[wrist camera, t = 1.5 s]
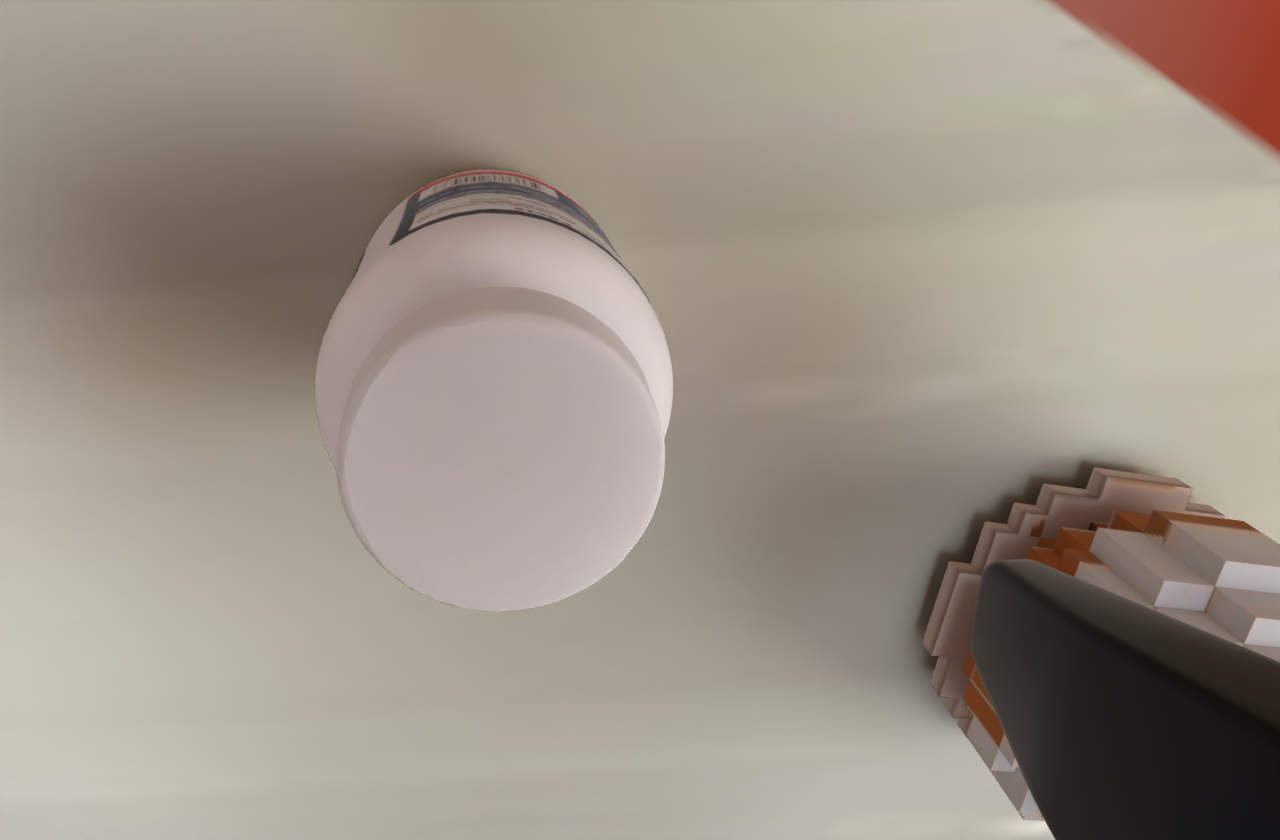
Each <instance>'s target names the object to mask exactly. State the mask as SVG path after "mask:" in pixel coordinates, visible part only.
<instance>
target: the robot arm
mask: <svg viewBox="0 0 1280 840" xmlns="http://www.w3.org/2000/svg"><path fill="white" fill-rule="evenodd" d="M970 645H971V653H972V657H973V660H974V663H975V666H976V668H977V670H978V673H979V675H980V677H981V680H982V682H983V684H984V687H985V689H986V691H987V694H988V696H989V698H990V701H991V703H992V705H993V708H994V710H995V712H996V715H997V717H998V719H999V722H1000V724H1001V726H1002V729H1003V731H1004V733H1005V736H1006V738H1007V740H1008V743H1009V745H1010V747H1011V750H1012V752H1013V754H1014V757H1015V759H1016V761H1017V763H1018V766H1019V768H1020V770H1021V773H1022V775H1023V777H1024V780H1025V782H1026V784H1027V786H1028V788H1029V790H1030V792H1031V794H1032V797H1033V799H1034V801H1035V803H1036V805H1037V806H1038V808H1039V810H1040V812H1041V814H1042V816H1043V818H1044V820H1045V821H1046V823H1047V825H1048V827H1049V829H1050V831H1051V832H1052V834H1053V836H1054V838H1055V839H1056V840H1280V662H1279V661H1276V660H1274V659H1271V658H1269V657H1267V656H1264V655H1262V654H1259V653H1257V652H1254V651H1252V650H1250V649H1247V648H1245V647H1242V646H1240V645H1238V644H1235V643H1233V642H1230V641H1228V640H1225V639H1223V638H1221V637H1218V636H1216V635H1213V634H1211V633H1209V632H1206V631H1204V630H1201V629H1199V628H1196V627H1194V626H1192V625H1189V624H1187V623H1184V622H1182V621H1180V620H1177V619H1175V618H1172V617H1170V616H1168V615H1165V614H1163V613H1160V612H1158V611H1155V610H1153V609H1151V608H1148V607H1146V606H1143V605H1141V604H1139V603H1136V602H1134V601H1131V600H1129V599H1126V598H1124V597H1122V596H1119V595H1117V594H1114V593H1112V592H1110V591H1107V590H1105V589H1102V588H1100V587H1097V586H1095V585H1093V584H1090V583H1088V582H1085V581H1083V580H1081V579H1078V578H1076V577H1073V576H1071V575H1069V574H1066V573H1064V572H1061V571H1059V570H1056V569H1054V568H1052V567H1049V566H1047V565H1044V564H1042V563H1040V562H1037V561H1034V560H1029V559H1019V560H1001V561H993V562H991V563H990V564H989V565H987V566H986V567H985V569H984V571H983V573H982V577H981V581H980V586H979V592H978V597H977V603H976V608H975V614H974V619H973V624H972V630H971V637H970Z"/></svg>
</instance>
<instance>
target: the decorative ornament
mask: <svg viewBox="0 0 1280 840" xmlns="http://www.w3.org/2000/svg"><path fill="white" fill-rule="evenodd" d="M1192 490H1193V489H1192V488H1191V487H1189V486H1188V485H1186V484H1184V483H1183V482H1181V481H1180V480H1178V479H1174V478H1167V477H1160V476H1152V475H1145V474H1138V473H1131V472H1123V471H1116V470H1109V469H1102V468H1095V467H1094V469H1093V472H1092V474H1091V477H1090V480H1089V482H1088V485H1087V488H1086V489H1080V488H1073V487H1065V486H1058V485H1050V484H1043V486H1042V489H1041V491H1040V494H1039V497H1038V500H1037V503H1036V505H1029V504H1022V503H1014V504H1013V507H1012V510H1011V513H1010V516H1009V519H1008V521H1007V524H1002V523H994V522H986V521H985V523H984V526H983V529H982V532H981V535H980V538H979V541H978V543H977V546H976V549H975V552H974V555H973V558H972V561H971V564H969V563H960V562H951V561H949V563H948V566H947V569H946V572H945V575H944V578H943V581H942V584H941V587H940V590H939V593H938V596H937V599H936V602H935V605H934V608H933V611H932V614H931V617H930V620H929V623H928V626H927V629H926V632H925V635H924V638H923V641H922V643H923V645H924V646H925V647H926V649H927V650H928V651H929V653H930V654H931V656H939V658H938V661H937V664H936V667H935V670H934V673H933V676H932V678H931V681H930V684H931V685H932V687H933V688H934V690H935V691H936V693H937V694H938V696H939V697H946V699H945V702H944V705H945V706H946V707H947V709H948V710H949V712H950V713H951V715H952V716H953V718H959V721H958V725H959V727H960V728H961V730H962V731H963V732H964V734H965V735H966V737H967V738H968V739H969V740H970V742H971V743H972V745H973V746H974V748H975V749H976V750H977V752H978V753H979V755H980V756H981V758H982V759H983V761H984V762H985V764H986V765H987V767H988V768H989V770H990V771H991V773H992V774H993V775H994V777H995V778H996V780H997V782H998V783H999V784H1000V786H1001V788H1002V789H1003V791H1004V792H1005V793H1006V795H1007V796H1008V798H1009V799H1010V801H1011V802H1012V804H1013V805H1014V806H1015V808H1016V809H1017V811H1018V812H1019V814H1020V815H1021V817H1022V818H1023V820H1041V821H1045V820H1044V818H1043V816H1042V814H1041V812H1040V810H1039V808H1038V806H1037V805H1036V803H1035V801H1034V799H1033V797H1032V794H1031V792H1030V790H1029V788H1028V786H1027V784H1026V782H1025V780H1024V777H1023V775H1022V773H1021V770H1020V768H1019V766H1018V763H1017V761H1016V759H1015V757H1014V754H1013V752H1012V750H1011V747H1010V745H1009V743H1008V740H1007V738H1006V736H1005V733H1004V731H1003V729H1002V726H1001V724H1000V722H999V719H998V717H997V715H996V712H995V710H994V708H993V705H992V703H991V701H990V698H989V696H988V694H987V691H986V689H985V687H984V684H983V682H982V680H981V677H980V675H979V673H978V670H977V668H976V666H975V663H974V660H973V657H972V653H971V645H970V637H971V630H972V624H973V619H974V614H975V608H976V603H977V597H978V592H979V586H980V581H981V577H982V573H983V571H984V569H985V567H986V566H987V565H989V564H990V563H991V562H993V561H1001V560H1019V559H1029V560H1034V561H1037V562H1040V563H1042V564H1044V565H1047V566H1049V567H1052V568H1054V569H1056V570H1059V571H1061V572H1064V573H1066V574H1069V575H1071V576H1073V577H1076V578H1078V579H1081V580H1083V581H1085V582H1088V583H1090V584H1093V585H1095V586H1097V587H1100V588H1102V589H1105V590H1107V591H1110V592H1112V593H1114V594H1117V595H1119V596H1122V597H1124V598H1126V599H1129V600H1131V601H1134V602H1136V603H1139V604H1141V605H1143V606H1146V607H1148V608H1151V609H1153V610H1155V611H1158V612H1160V613H1163V614H1165V615H1168V616H1170V617H1172V618H1175V619H1177V620H1180V621H1182V622H1184V623H1187V624H1189V625H1192V626H1194V627H1196V628H1199V629H1201V630H1204V631H1206V632H1209V633H1211V634H1213V635H1216V636H1218V637H1221V638H1223V639H1225V640H1228V641H1230V642H1233V643H1235V644H1238V645H1240V646H1242V647H1245V648H1247V649H1250V650H1252V651H1254V652H1257V653H1259V654H1262V655H1264V656H1267V657H1269V658H1271V659H1274V660H1276V661H1279V662H1280V544H1278V543H1277V542H1275V541H1274V540H1272V539H1270V538H1269V537H1267V536H1266V535H1264V534H1263V533H1261V532H1259V531H1258V530H1256V529H1255V528H1253V527H1252V526H1250V525H1249V524H1247V523H1245V522H1244V521H1237V520H1229V519H1224V517H1225V516H1224V515H1223V514H1221V513H1220V512H1218V511H1217V510H1215V509H1213V508H1212V507H1210V506H1208V505H1200V504H1193V503H1187V502H1188V499H1189V497H1190V495H1191V492H1192Z"/></svg>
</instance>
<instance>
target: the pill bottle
mask: <svg viewBox="0 0 1280 840" xmlns="http://www.w3.org/2000/svg"><path fill="white" fill-rule="evenodd" d="M672 401H673V374H672V366H671V358H670V353H669V349H668V345H667V341H666V338H665V335H664V332H663V330H662V327H661V325H660V322H659V320H658V318H657V315H656V313H655V311H654V309H653V307H652V305H651V303H650V301H649V299H648V297H647V296H646V294H645V293H644V291H643V290H642V288H641V287H640V285H639V283H638V282H637V281H636V279H635V278H634V277H633V276H632V274H631V273H630V271H629V270H628V269H627V267H626V265H625V264H624V262H623V261H622V260H621V258H620V257H619V255H618V254H617V252H616V251H615V249H614V248H613V247H612V245H611V243H610V242H609V240H608V238H607V237H606V235H605V234H604V232H603V231H602V230H601V228H600V227H599V226H598V224H597V223H596V222H595V221H594V220H593V218H592V217H591V216H590V215H589V214H588V213H587V212H586V211H585V210H584V209H583V208H582V207H581V206H580V205H579V204H578V203H577V202H576V201H575V200H573V199H572V198H571V197H569V196H568V195H567V194H565V193H564V192H562V191H561V190H559V189H558V188H556V187H554V186H552V185H550V184H548V183H546V182H543V181H541V180H539V179H536V178H534V177H531V176H528V175H524V174H520V173H516V172H510V171H503V170H473V171H466V172H461V173H456V174H453V175H449V176H446V177H443V178H441V179H438V180H436V181H434V182H432V183H430V184H428V185H425V186H424V187H422V188H420V189H419V190H417V191H415V192H414V193H412V194H411V195H410V196H408V197H407V198H406V199H405V200H403V201H402V202H401V203H400V204H399V205H398V206H397V207H396V208H395V209H394V210H392V211H391V212H390V213H389V214H388V216H387V217H386V218H385V220H384V221H383V222H382V224H381V225H380V226H379V228H378V229H377V231H376V232H375V234H374V235H373V237H372V238H371V240H370V242H369V244H368V246H367V248H366V250H365V252H364V253H363V255H362V257H361V259H360V262H359V265H358V267H357V269H356V272H355V274H354V276H353V279H352V281H351V283H350V285H349V287H348V289H347V290H346V292H345V293H344V295H343V297H342V299H341V301H340V302H339V303H338V305H337V306H336V308H335V310H334V312H333V314H332V316H331V318H330V321H329V323H328V326H327V328H326V331H325V334H324V337H323V340H322V343H321V347H320V351H319V356H318V360H317V366H316V376H315V403H316V412H317V418H318V423H319V428H320V432H321V435H322V438H323V441H324V445H325V447H326V449H327V452H328V454H329V456H330V459H331V461H332V463H333V465H334V467H335V469H336V471H337V480H338V486H339V492H340V496H341V500H342V504H343V507H344V509H345V512H346V514H347V516H348V519H349V521H350V523H351V525H352V527H353V529H354V531H355V533H356V535H357V536H358V538H359V540H360V541H361V543H362V544H363V545H364V547H365V548H366V549H367V551H368V552H369V553H370V554H371V555H372V556H373V557H374V558H375V560H376V561H377V562H378V563H379V564H380V565H381V566H382V567H383V568H384V569H385V570H386V571H387V572H388V573H390V574H392V575H393V576H394V577H396V578H397V579H398V580H399V581H400V582H402V583H403V584H405V585H406V586H408V587H409V588H411V589H413V590H416V591H418V592H420V593H422V594H423V595H425V596H427V597H429V598H431V599H434V600H437V601H439V602H442V603H444V604H448V605H452V606H457V607H463V608H468V609H473V610H480V611H494V612H496V611H515V610H523V609H531V608H535V607H539V606H543V605H547V604H551V603H555V602H557V601H559V600H562V599H564V598H567V597H569V596H572V595H574V594H576V593H578V592H580V591H582V590H584V589H586V588H587V587H589V586H590V585H592V584H594V583H595V582H597V581H598V580H600V579H601V578H602V577H603V576H605V575H606V574H607V573H608V572H610V571H611V570H612V569H614V568H615V567H617V566H618V564H619V563H620V562H621V561H623V560H624V559H625V557H626V556H627V554H628V553H629V551H630V550H631V549H632V548H633V547H634V546H635V545H636V543H637V542H638V541H639V539H640V538H641V536H642V535H643V533H644V531H645V530H646V528H647V526H648V524H649V522H650V520H651V518H652V516H653V514H654V512H655V509H656V506H657V503H658V501H659V497H660V493H661V489H662V484H663V478H664V472H665V444H664V439H665V435H666V432H667V428H668V425H669V421H670V416H671V409H672Z"/></svg>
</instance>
